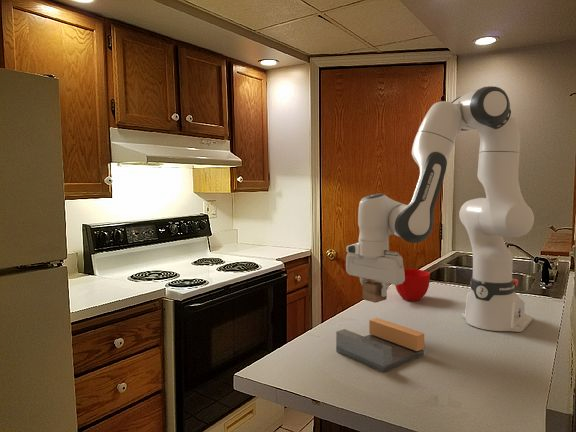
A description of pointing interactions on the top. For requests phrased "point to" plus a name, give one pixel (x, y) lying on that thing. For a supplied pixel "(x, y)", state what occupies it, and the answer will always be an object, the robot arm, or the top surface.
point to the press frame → (374, 350)
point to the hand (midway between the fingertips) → (374, 293)
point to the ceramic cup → (414, 284)
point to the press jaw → (397, 334)
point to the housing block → (372, 291)
